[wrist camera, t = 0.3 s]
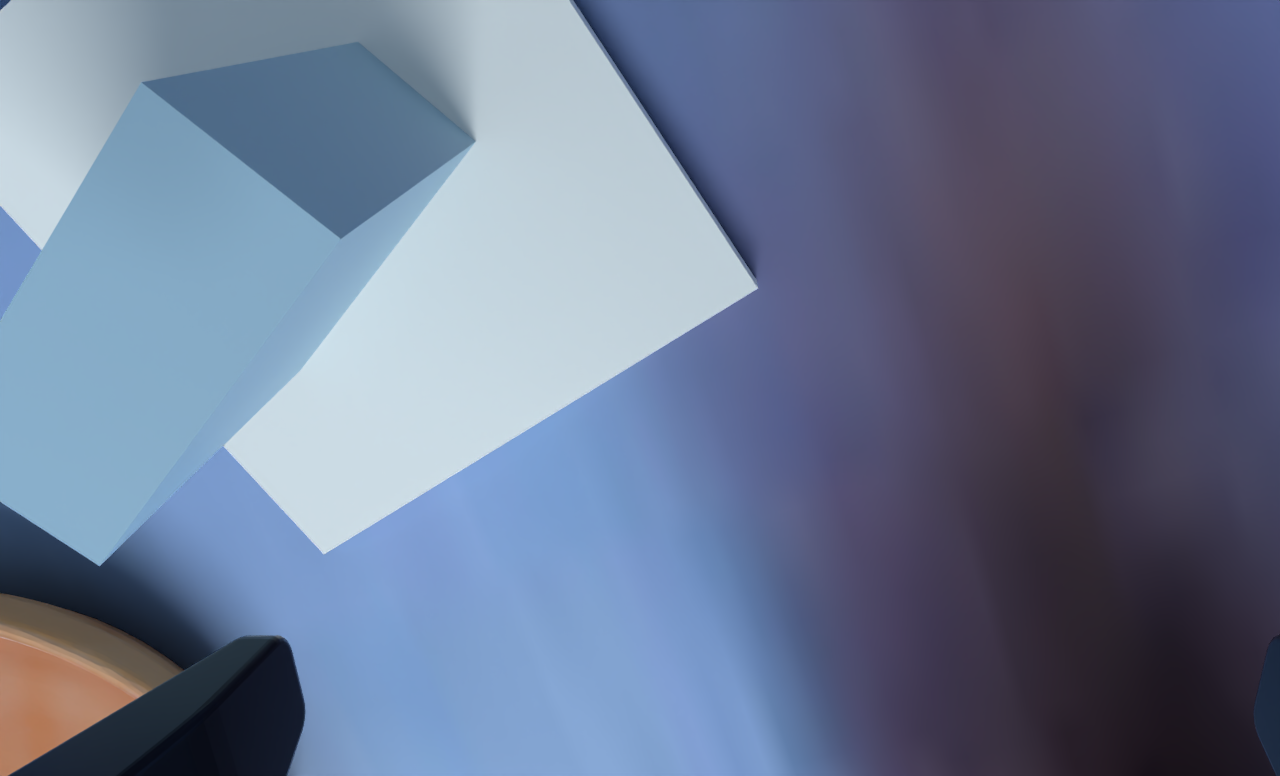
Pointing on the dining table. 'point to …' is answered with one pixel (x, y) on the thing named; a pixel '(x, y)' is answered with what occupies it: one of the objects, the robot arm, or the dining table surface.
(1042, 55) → the dining table surface
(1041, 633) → the dining table surface
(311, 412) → the mat
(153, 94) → the box
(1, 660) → the saucer
